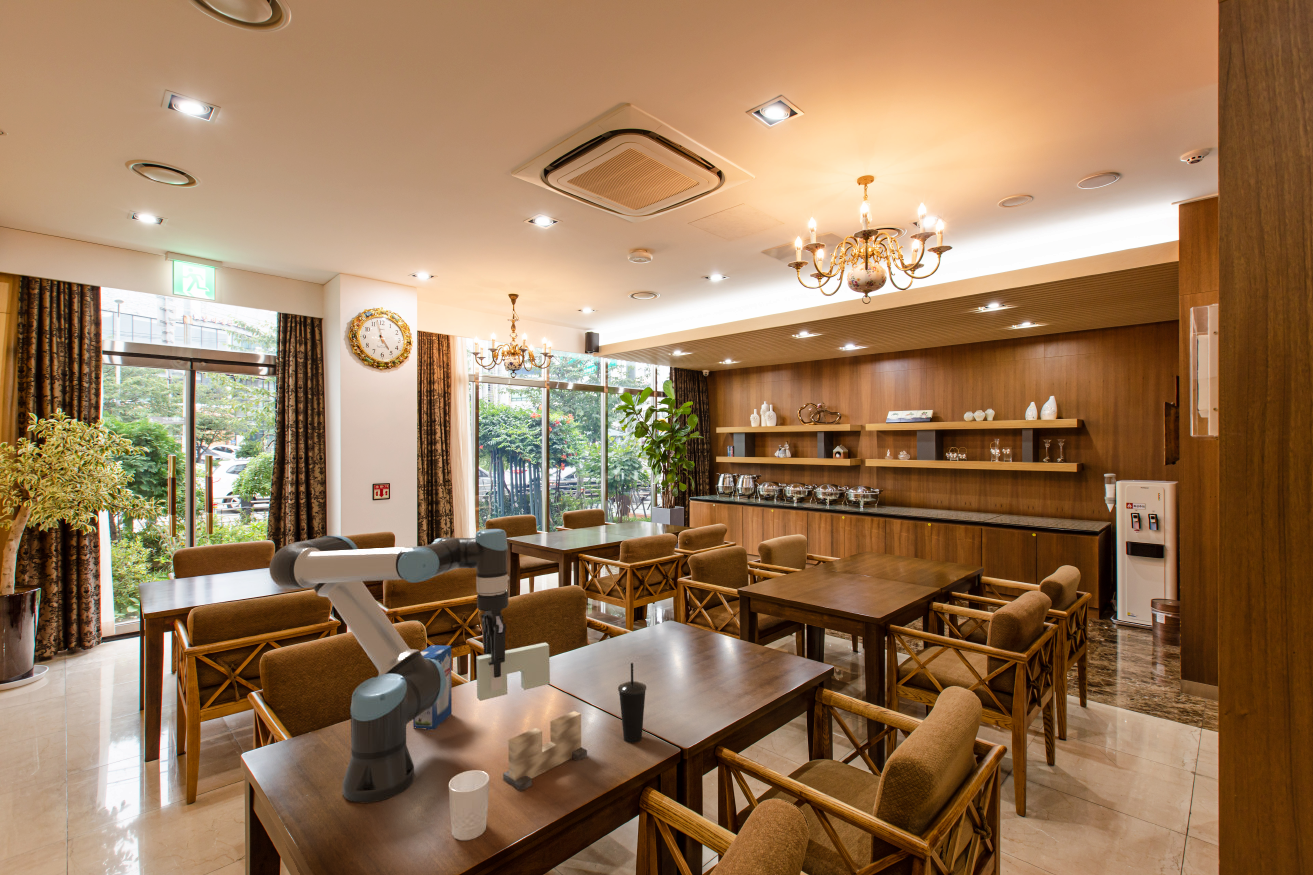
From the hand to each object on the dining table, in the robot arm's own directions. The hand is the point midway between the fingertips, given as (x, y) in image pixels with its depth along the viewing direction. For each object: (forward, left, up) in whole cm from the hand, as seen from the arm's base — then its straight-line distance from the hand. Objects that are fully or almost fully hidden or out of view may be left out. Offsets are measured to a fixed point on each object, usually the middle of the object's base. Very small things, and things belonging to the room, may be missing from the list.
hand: (494, 686), depth 146 cm
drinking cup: (+31, -17, -19) cm, 40 cm away
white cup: (-18, -18, -19) cm, 32 cm away
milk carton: (+1, +34, -19) cm, 39 cm away
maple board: (+7, -11, -19) cm, 23 cm away
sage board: (+5, -1, -2) cm, 5 cm away
